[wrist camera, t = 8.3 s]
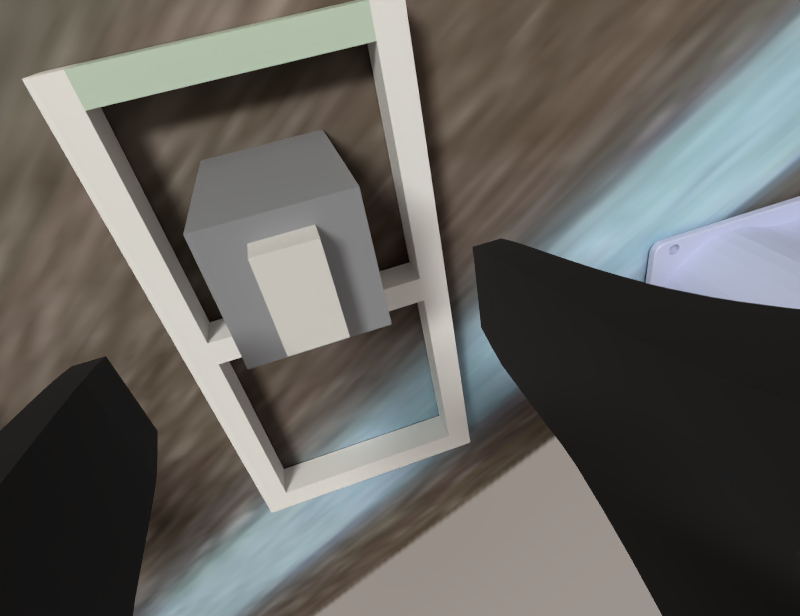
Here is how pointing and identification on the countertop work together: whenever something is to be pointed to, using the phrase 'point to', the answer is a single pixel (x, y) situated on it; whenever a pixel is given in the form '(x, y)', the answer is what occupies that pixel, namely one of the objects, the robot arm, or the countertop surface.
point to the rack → (162, 273)
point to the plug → (285, 248)
